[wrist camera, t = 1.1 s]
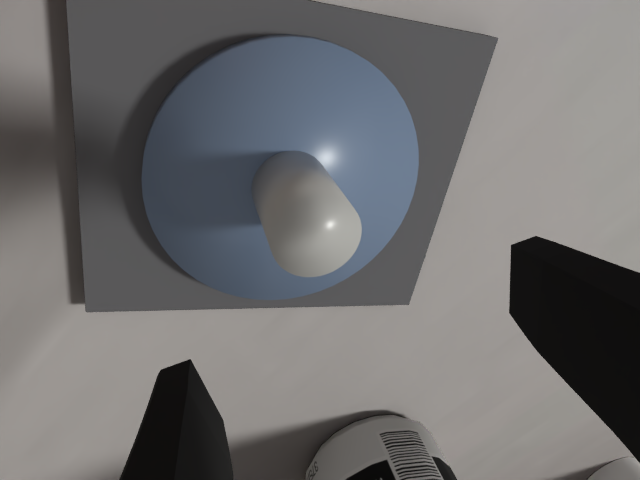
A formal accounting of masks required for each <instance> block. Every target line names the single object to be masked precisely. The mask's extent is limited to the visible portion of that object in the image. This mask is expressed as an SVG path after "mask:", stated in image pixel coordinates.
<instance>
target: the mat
mask: <svg viewBox="0 0 640 480" xmlns="http://www.w3.org/2000/svg"><path fill="white" fill-rule="evenodd" d="M66 7H67V23H68V38H69V54H70V70H71V86H72V102H73V118H74V134H75V150H76V166H77V182H78V197H79V213H80V229H81V245H82V261H83V277H84V293H85V309H86V312H114V311H157V310H200V309H242V308H285V307H328V306H371V305H409V302H410V299H411V296H412V294H413V291H414V288H415V285H416V282H417V279H418V276H419V273H420V270H421V267H422V264H423V261H424V258H425V255H426V252H427V249H428V246H429V243H430V240H431V237H432V234H433V231H434V228H435V225H436V222H437V219H438V216H439V213H440V210H441V207H442V204H443V201H444V198H445V195H446V192H447V189H448V186H449V183H450V180H451V177H452V174H453V171H454V168H455V165H456V162H457V159H458V156H459V153H460V151H461V148H462V145H463V142H464V139H465V136H466V133H467V130H468V127H469V124H470V121H471V118H472V115H473V112H474V109H475V106H476V103H477V100H478V97H479V94H480V91H481V88H482V85H483V82H484V79H485V76H486V73H487V70H488V67H489V64H490V61H491V58H492V55H493V52H494V49H495V46H496V43H497V40H498V38H496V37H492V36H488V35H483V34H478V33H473V32H468V31H463V30H458V29H453V28H448V27H443V26H438V25H433V24H428V23H422V22H417V21H412V20H407V19H402V18H397V17H392V16H387V15H382V14H377V13H372V12H367V11H362V10H357V9H352V8H347V7H342V6H337V5H331V4H326V3H321V2H316V1H311V0H66ZM277 34H295V35H305V36H311V37H315V38H320V39H324V40H328V41H330V42H332V43H335V44H337V45H340V46H342V47H345V48H346V49H348V50H350V51H352V52H354V53H355V54H357V55H359V56H360V57H362V58H364V59H365V60H367V61H369V62H370V63H371V64H372V65H374V66H375V67H376V68H377V69H379V70H380V71H381V72H382V73H383V74H384V75H385V76H386V77H387V78H388V79H389V81H390V82H391V83H392V84H393V85H394V86H395V88H396V89H397V91H398V92H399V94H400V95H401V97H402V98H403V100H404V101H405V104H406V106H407V108H408V110H409V112H410V114H411V117H412V120H413V124H414V127H415V130H416V135H417V142H418V150H419V166H418V176H417V182H416V186H415V191H414V195H413V198H412V200H411V203H410V206H409V209H408V211H407V213H406V215H405V217H404V219H403V221H402V223H401V225H400V226H399V228H398V229H397V231H396V232H395V234H394V236H393V237H392V238H391V240H390V241H389V242H388V243H387V244H386V246H385V247H384V248H383V249H382V250H381V251H380V252H379V253H378V254H377V255H376V256H375V257H374V258H373V259H372V260H371V261H370V262H369V263H368V264H366V265H365V266H364V267H363V268H362V269H360V270H359V271H357V272H356V273H354V274H353V275H351V276H350V277H348V278H347V279H345V280H343V281H341V282H339V283H337V284H335V285H334V286H331V287H329V288H326V289H324V290H321V291H319V292H316V293H312V294H309V295H305V296H301V297H296V298H290V299H281V300H255V299H249V298H242V297H237V296H234V295H230V294H226V293H223V292H221V291H218V290H216V289H213V288H211V287H209V286H207V285H205V284H203V283H202V282H200V281H198V280H196V279H195V278H194V277H192V276H191V275H189V274H188V273H187V272H185V271H184V270H183V269H182V268H181V267H180V266H179V265H178V264H177V263H176V262H174V261H173V260H172V259H171V257H170V256H169V255H168V253H167V252H166V251H165V250H164V248H163V247H162V246H161V244H160V242H159V241H158V239H157V237H156V235H155V234H154V232H153V230H152V227H151V225H150V222H149V220H148V217H147V214H146V210H145V205H144V201H143V194H142V180H141V178H142V165H143V154H144V148H145V144H146V140H147V136H148V132H149V129H150V127H151V124H152V122H153V119H154V117H155V115H156V113H157V111H158V109H159V108H160V106H161V104H162V102H163V101H164V99H165V97H166V96H167V95H168V93H169V92H170V91H171V90H172V88H173V87H174V86H175V85H176V83H177V82H178V81H179V80H180V79H181V78H182V77H183V76H184V75H185V74H186V73H187V72H189V71H190V70H191V69H192V68H193V67H194V66H196V65H197V64H198V63H200V62H201V61H203V60H204V59H205V58H207V57H208V56H210V55H211V54H213V53H215V52H217V51H219V50H221V49H223V48H225V47H227V46H229V45H232V44H235V43H238V42H241V41H243V40H246V39H250V38H255V37H260V36H265V35H277Z"/></svg>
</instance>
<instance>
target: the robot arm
mask: <svg viewBox="0 0 640 480" xmlns="http://www.w3.org/2000/svg"><path fill="white" fill-rule="evenodd" d="M509 313H510V314H511V316H512V317H513V319H514V320H515V322H516V323H517V324H518V326H519V327H520V329H521V330H522V332H523V333H524V334H525V336H526V337H527V338H528V340H529V341H530V342H531V344H532V345H533V346H534V348H535V349H536V350H537V351H538V352H539V354H540V355H541V356H542V357H543V358H544V359H545V360H546V361H547V362H548V363H549V364H550V366H551V367H552V368H553V369H554V370H555V371H556V372H557V373H558V374H559V375H560V376H561V377H562V378H563V379H564V380H565V382H566V383H567V384H568V385H569V386H570V387H571V388H572V389H573V390H574V391H575V392H576V393H577V394H578V395H579V396H580V397H581V398H582V399H583V401H584V402H585V403H586V404H587V405H588V406H589V407H590V408H591V409H592V410H593V411H594V412H595V413H596V414H597V415H598V416H599V417H600V418H601V420H602V421H603V422H604V423H605V424H606V425H607V426H608V427H609V428H610V429H611V430H612V431H613V432H614V433H615V435H616V436H617V437H618V438H619V439H620V440H621V441H622V442H623V444H624V445H625V446H626V447H627V448H628V449H629V450H630V452H631V453H632V454H633V455H634V457H635V458H636V459H637V460H638V462H639V463H640V273H638V272H635V271H632V270H630V269H627V268H624V267H621V266H618V265H616V264H613V263H610V262H607V261H605V260H602V259H599V258H597V257H594V256H591V255H589V254H586V253H583V252H580V251H578V250H575V249H572V248H569V247H567V246H564V245H561V244H558V243H556V242H553V241H550V240H547V239H544V238H540V237H537V236H535V237H532V238H529V239H527V240H524V241H521V242H518V243H515V244H513V245H511V271H510V307H509ZM120 480H233V471H232V464H231V458H230V453H229V447H228V442H227V437H226V432H225V427H224V422H223V419H222V417H221V415H220V413H219V412H218V410H217V408H216V406H215V404H214V402H213V400H212V398H211V397H210V395H209V393H208V391H207V389H206V387H205V385H204V383H203V382H202V380H201V378H200V376H199V374H198V372H197V370H196V369H195V367H194V365H193V363H192V361H191V359H190V360H187V361H184V362H181V363H179V364H176V365H173V366H170V367H167V368H165V369H162V370H161V371H160V372H159V374H158V376H157V379H156V382H155V385H154V388H153V391H152V394H151V397H150V400H149V403H148V406H147V409H146V412H145V414H144V417H143V420H142V423H141V425H140V428H139V431H138V434H137V436H136V439H135V442H134V444H133V447H132V449H131V452H130V454H129V457H128V460H127V462H126V465H125V467H124V470H123V472H122V475H121V477H120Z"/></svg>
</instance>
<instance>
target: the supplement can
mask: <svg viewBox="0 0 640 480" xmlns="http://www.w3.org/2000/svg"><path fill="white" fill-rule="evenodd" d="M305 480H457V479H456V477H455V475H454V473H453V472H452V470H451V468H450V466H449V464H448V462H447V461H446V459H445V457H444V455H443V453H442V452H441V450H440V448H439V446H438V444H437V443H436V441H435V439H434V437H433V435H432V434H431V432H430V431H429V430H428V429H427V428H426V427H425V426H424V425H422V424H421V423H420V422H418V421H414V420H410V419H407V418H403V417H399V416H395V415H383V416H373V417H369V418H366V419H363V420H360V421H356V422H354V423H352V424H350V425H348V426H346V427H345V428H343V429H341V430H339V431H338V432H336V433H335V434H333V435H332V436H331V437H330V438H329V439H328V440H327V441H326V442H325V443H324V444H323V445H321V447H320V448H319V450H318V452H317V454H316V455H315V457H314V459H313V461H312V463H311V464H310V466H309V468H308V469H307V471H306V479H305Z"/></svg>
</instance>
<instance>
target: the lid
mask: <svg viewBox="0 0 640 480" xmlns="http://www.w3.org/2000/svg"><path fill="white" fill-rule="evenodd" d="M418 166H419V150H418V142H417V135H416V130H415V127H414V124H413V120H412V117H411V114H410V112H409V110H408V108H407V106H406V104H405V101H404V100H403V98H402V97H401V95H400V94H399V92H398V91H397V89H396V88H395V86H394V85H393V84H392V83H391V82H390V81H389V79H388V78H387V77H386V76H385V75H384V74H383V73H382V72H381V71H380V70H379V69H377V68H376V67H375V66H374V65H372V64H371V63H370V62H369V61H367V60H365V59H364V58H362V57H360V56H359V55H357V54H355V53H354V52H352V51H350V50H348V49H346V48H345V47H342V46H340V45H337V44H335V43H332V42H330V41H328V40H324V39H320V38H315V37H311V36H305V35H295V34H277V35H265V36H260V37H255V38H250V39H246V40H243V41H241V42H238V43H235V44H232V45H229V46H227V47H225V48H223V49H221V50H219V51H217V52H215V53H213V54H211V55H210V56H208V57H207V58H205V59H204V60H203V61H201V62H200V63H198V64H197V65H196V66H194V67H193V68H192V69H191V70H190V71H189V72H187V73H186V74H185V75H184V76H183V77H182V78H181V79H180V80H179V81H178V82H177V83H176V85H175V86H174V87H173V88H172V90H171V91H170V92H169V93H168V95H167V96H166V97H165V99H164V101H163V102H162V104H161V106H160V108H159V109H158V111H157V113H156V115H155V117H154V119H153V122H152V124H151V127H150V129H149V132H148V136H147V140H146V144H145V148H144V154H143V165H142V178H141V180H142V194H143V201H144V205H145V210H146V214H147V217H148V220H149V222H150V225H151V227H152V230H153V232H154V234H155V235H156V237H157V239H158V241H159V242H160V244H161V246H162V247H163V248H164V250H165V251H166V252H167V253H168V255H169V256H170V257H171V259H172V260H173V261H174V262H176V263H177V264H178V265H179V266H180V267H181V268H182V269H183V270H184V271H185V272H187V273H188V274H189V275H191V276H192V277H194V278H195V279H196V280H198V281H200V282H202V283H203V284H205V285H207V286H209V287H211V288H213V289H216V290H218V291H221V292H223V293H226V294H230V295H234V296H237V297H242V298H249V299H255V300H281V299H290V298H296V297H301V296H305V295H309V294H312V293H316V292H319V291H321V290H324V289H326V288H329V287H331V286H334V285H335V284H337V283H339V282H341V281H343V280H345V279H347V278H348V277H350V276H351V275H353V274H354V273H356V272H357V271H359V270H360V269H362V268H363V267H364V266H365V265H366V264H368V263H369V262H370V261H371V260H372V259H373V258H374V257H375V256H376V255H377V254H378V253H379V252H380V251H381V250H382V249H383V248H384V247H385V246H386V244H387V243H388V242H389V241H390V240H391V238H392V237H393V236H394V234H395V232H396V231H397V229H398V228H399V226H400V225H401V223H402V221H403V219H404V217H405V215H406V213H407V211H408V209H409V206H410V203H411V200H412V198H413V195H414V191H415V186H416V182H417V176H418Z"/></svg>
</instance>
